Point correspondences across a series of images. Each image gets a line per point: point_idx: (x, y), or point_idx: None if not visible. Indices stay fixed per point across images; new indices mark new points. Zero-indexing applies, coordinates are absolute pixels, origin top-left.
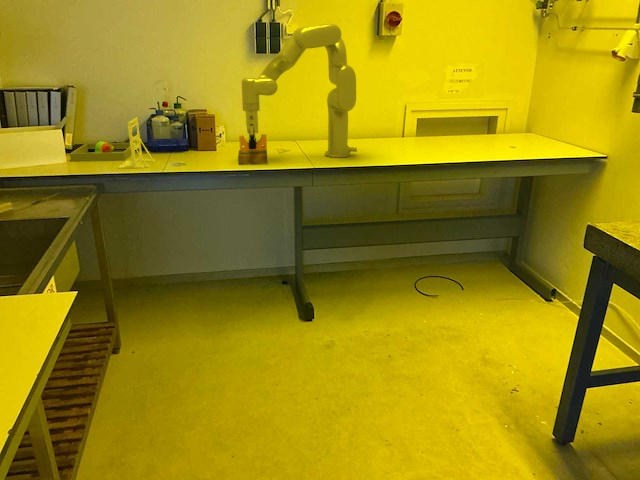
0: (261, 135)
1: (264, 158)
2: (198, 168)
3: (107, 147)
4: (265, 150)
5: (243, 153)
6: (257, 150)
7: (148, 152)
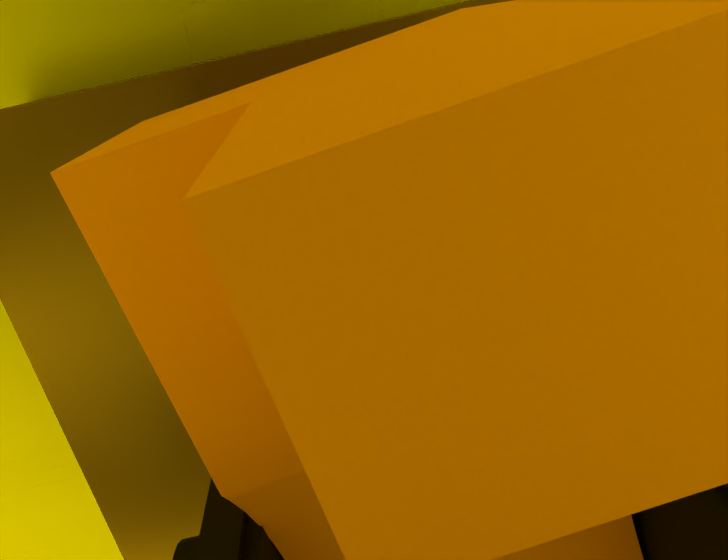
0: (421, 517)
1: None
2: None
3: None
4: (71, 138)
5: None
6: (135, 351)
7: None
